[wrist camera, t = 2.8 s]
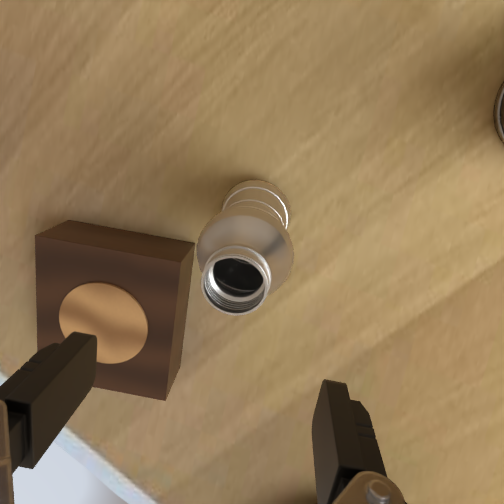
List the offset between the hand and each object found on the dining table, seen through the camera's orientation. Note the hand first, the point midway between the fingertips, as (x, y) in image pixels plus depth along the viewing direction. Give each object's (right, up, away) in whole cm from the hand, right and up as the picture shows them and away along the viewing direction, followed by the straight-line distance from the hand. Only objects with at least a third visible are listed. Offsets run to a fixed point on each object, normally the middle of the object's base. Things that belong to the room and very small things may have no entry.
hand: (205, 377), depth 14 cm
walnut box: (-13, -1, +31) cm, 33 cm away
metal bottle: (+2, +9, +27) cm, 28 cm away
